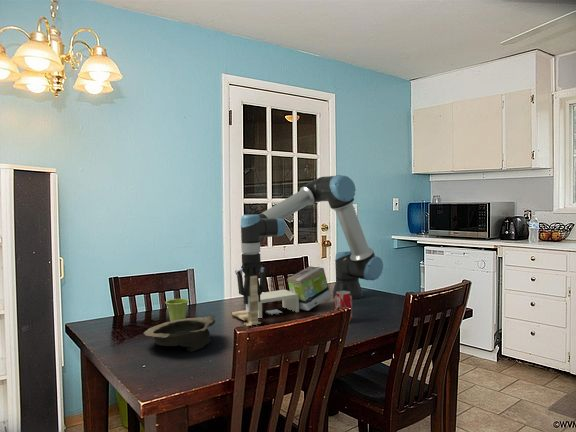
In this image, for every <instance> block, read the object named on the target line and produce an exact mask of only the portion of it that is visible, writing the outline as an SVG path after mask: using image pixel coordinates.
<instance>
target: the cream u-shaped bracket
mask: <svg viewBox="0 0 576 432" xmlns="http://www.w3.org/2000/svg"><path fill="white" fill-rule="evenodd" d="M279 301H282V308H284V309H286V308H287V310H288V311H291V310H292V312H294V311H295V313H299V312H300V309H299V295H298V294H295V293H291V292H290V290H287V289H278V290H273V291H266V292H265V291H264V292H262V294H261V295H260V302H259V311H258V318H262V319H263V304H266V303H271V302H272V303H273V302H279Z"/></svg>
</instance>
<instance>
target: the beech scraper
mask: <svg viewBox="0 0 576 432" xmlns="http://www.w3.org/2000/svg"><path fill="white" fill-rule="evenodd" d="M247 277H248V276H247ZM248 296H250V313H249V312H247V311H246V309H241V310H240V309H239V310H233V311H230V317H231V319H237V318H238V319H240V320H243V321H246V322H243V325H244V326H245V325H246V326H245V327H247V326H251V327H253V326H252V325H256V326H258V325H257V324H261V323H262V322H261V321H259V319H258V293H257V276H250V285H249V294H248Z"/></svg>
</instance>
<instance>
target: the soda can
mask: <svg viewBox="0 0 576 432" xmlns="http://www.w3.org/2000/svg"><path fill="white" fill-rule="evenodd" d="M338 307H349V308H351V317H350V322H351V321H352V320H353V299H352V296H351V294H350V292H349V291H337V292H336V295H335V297H334V310H335V309H337V308H338Z"/></svg>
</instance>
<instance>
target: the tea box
mask: <svg viewBox="0 0 576 432" xmlns="http://www.w3.org/2000/svg"><path fill="white" fill-rule="evenodd" d="M327 280H328V279H327V276H326V272H325V269H324V267H320V266H319V267H318V266H308V267H306V268H304V269H302V270H300V271H299V272H297V273H295V274H293V275H291V276H290V277H288V278H287V283H288V288H289V291H290V292H291V293H295V294H298V295H299V310H303V311H310V310H311V309H313V308H314V307H316V306H317V305H319V304H321V303H322V302H324V301H326V300H327V299H329V298H331V296H332V294H331V292H330V287H329V284H328V281H327Z"/></svg>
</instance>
